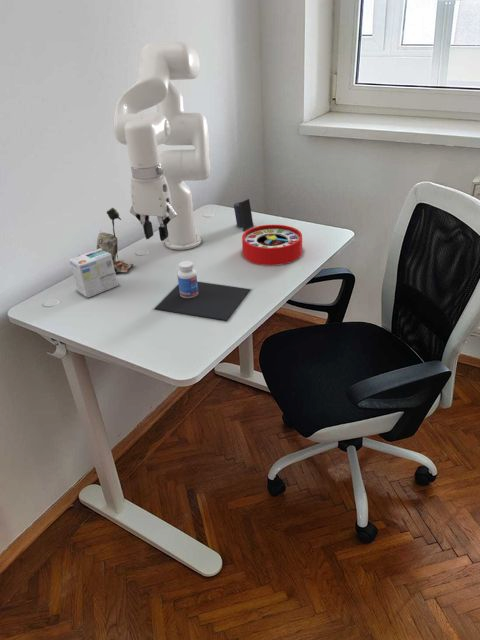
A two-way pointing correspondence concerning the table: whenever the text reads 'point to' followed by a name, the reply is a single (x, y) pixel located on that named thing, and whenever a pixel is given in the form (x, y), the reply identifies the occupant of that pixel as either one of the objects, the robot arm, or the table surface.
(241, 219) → the speaker
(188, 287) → the pill bottle
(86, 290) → the light bulb box
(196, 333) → the table surface
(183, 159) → the robot arm
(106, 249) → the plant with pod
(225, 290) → the desk mat
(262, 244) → the toy clock
